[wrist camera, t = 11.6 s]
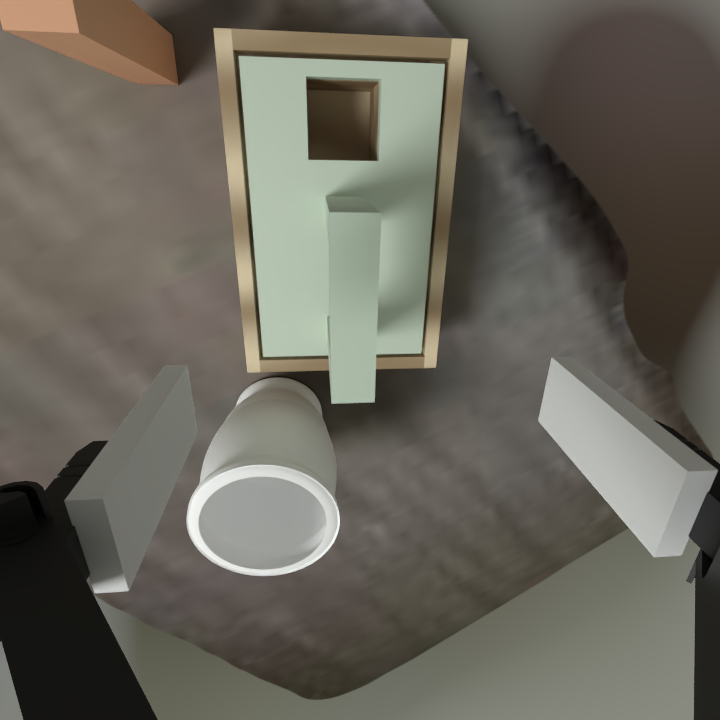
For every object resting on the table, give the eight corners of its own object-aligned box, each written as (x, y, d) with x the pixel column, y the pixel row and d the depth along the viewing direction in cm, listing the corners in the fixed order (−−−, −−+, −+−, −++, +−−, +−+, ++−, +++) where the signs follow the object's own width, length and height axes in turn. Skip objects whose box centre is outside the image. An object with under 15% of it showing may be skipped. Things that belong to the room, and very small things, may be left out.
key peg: (127, 33, 31) (-22, -65, 17) (172, 35, 31) (60, -60, 17) (135, 83, 32) (3, 30, 18) (178, 85, 32) (79, 33, 19)
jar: (343, 378, 43) (357, 479, 30) (318, 462, 47) (320, 585, 34) (234, 355, 41) (194, 453, 28) (217, 445, 45) (176, 569, 32)
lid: (241, 59, 27) (201, 6, 17) (440, 66, 28) (505, 21, 19) (264, 351, 35) (245, 424, 25) (418, 348, 36) (455, 417, 27)
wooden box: (233, 53, 32) (213, 27, 25) (438, 61, 33) (468, 39, 27) (257, 338, 41) (247, 372, 34) (417, 336, 42) (435, 367, 36)
